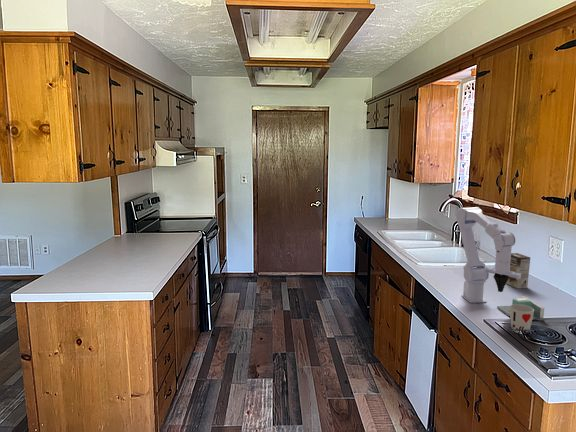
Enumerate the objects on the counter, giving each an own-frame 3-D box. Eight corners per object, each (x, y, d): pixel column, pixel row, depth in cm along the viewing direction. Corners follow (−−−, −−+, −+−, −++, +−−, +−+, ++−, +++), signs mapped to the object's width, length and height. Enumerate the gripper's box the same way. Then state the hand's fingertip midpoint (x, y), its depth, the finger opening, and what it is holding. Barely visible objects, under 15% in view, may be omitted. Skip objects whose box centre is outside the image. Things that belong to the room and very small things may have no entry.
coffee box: (504, 283, 225) (506, 253, 222) (514, 282, 226) (517, 252, 223) (517, 288, 216) (520, 257, 213) (528, 287, 217) (530, 256, 215)
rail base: (497, 308, 191) (498, 296, 190) (523, 307, 192) (524, 295, 191) (515, 321, 177) (516, 308, 176) (543, 320, 178) (544, 307, 177)
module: (511, 309, 187) (512, 298, 186) (524, 308, 188) (525, 297, 187) (517, 313, 183) (518, 301, 182) (530, 312, 184) (531, 300, 183)
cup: (507, 333, 166) (509, 309, 165) (509, 326, 173) (511, 302, 171) (530, 338, 162) (533, 313, 160) (532, 330, 168) (534, 306, 167)
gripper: (524, 262, 180) (521, 293, 182) (489, 255, 190) (487, 285, 192) (518, 265, 175) (515, 297, 177) (482, 259, 185) (480, 288, 188)
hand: (500, 291), depth 184 cm, fingers closed
